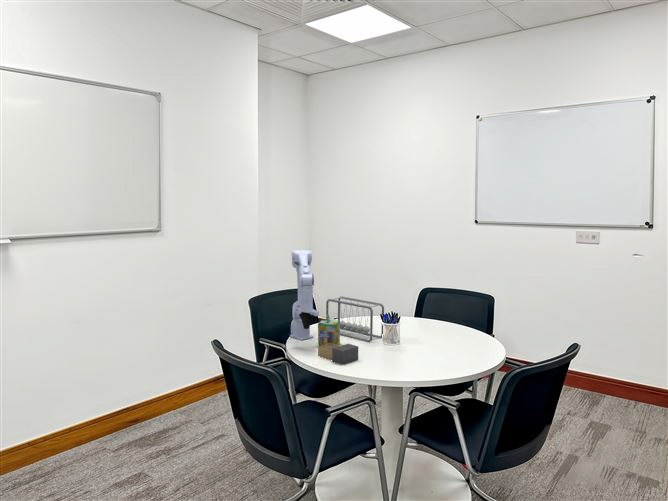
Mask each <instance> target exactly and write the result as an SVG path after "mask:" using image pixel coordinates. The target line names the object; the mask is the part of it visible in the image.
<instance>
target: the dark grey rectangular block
mask: <svg viewBox="0 0 668 501" xmlns="http://www.w3.org/2000/svg"><path fill="white" fill-rule="evenodd" d="M356 361H359V346H358V345H355V344H350V343H346V344H345V343H344V344H341V345H340V346H338V347H335V348H332V363H334V362H335V363H334V364H337V363H338V365H341V366H344V365H347V364H350V363H352V362H356Z"/></svg>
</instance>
